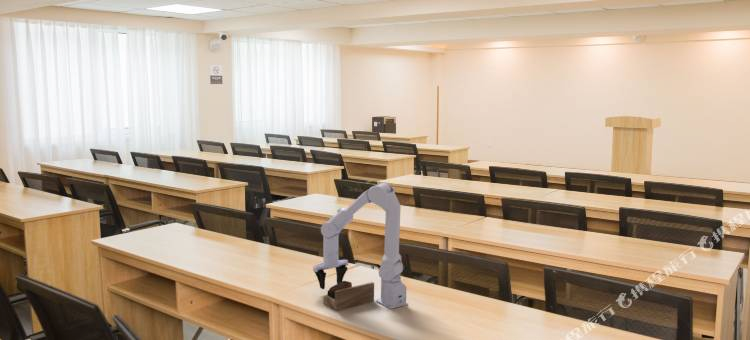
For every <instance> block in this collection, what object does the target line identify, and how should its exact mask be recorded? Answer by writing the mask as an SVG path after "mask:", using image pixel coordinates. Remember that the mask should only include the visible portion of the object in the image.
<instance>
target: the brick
mask: <svg viewBox="0 0 750 340" xmlns="http://www.w3.org/2000/svg"><path fill="white" fill-rule="evenodd" d="M349 287H353V285H352V282H351V281H347V280H342V282H340V283H338V284H337V283H336V284H334V285H333V286H331V287H329V289H328V290H327V294H326V295H328V296H330V297H331V298H333V299H335V291H336V290H341V289H345V288H349Z"/></svg>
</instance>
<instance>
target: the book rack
mask: <svg viewBox="0 0 750 340" xmlns="http://www.w3.org/2000/svg"><path fill="white" fill-rule="evenodd" d="M374 301H375V282H373V281H371V282H367V283H364V284H359V285H354V286H352V287H349V288H345V289H341V290H336V291H335V299H333V298H331V297H330V296H328V295H327V294H324V295H323V304H324V305H326V306H328V307H329V308H331V309H333V310H335V312H336V311H341V310H344V309H349V308H353V307H357V306H361V305H364V304H368V303H373V302H374Z"/></svg>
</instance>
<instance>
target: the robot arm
mask: <svg viewBox="0 0 750 340" xmlns="http://www.w3.org/2000/svg"><path fill="white" fill-rule="evenodd" d="M371 203H372V204H374V205H376V206H378V207H380V208H381V209H383V211H384V212H385V224H384V249H383V250H384V251H383V253H384V254H383V256H382V259H381V264H380V267H379V269H378V274H379V275H378V276H379V277H380V298H378V299H375V302H376V303H379V304H381V305H382V306H385V307H386V308H389V309H391V310H392V309H397V308H398V307H403V306H406V305H409V302H407V286H406V284H405V283H403V281H402V277H401V273H402V272H403V270H404V264H403V262H402V261H403V260H402V255H401V254H400V233H401V232H400V231H401V230H400V228H401V210H402V209H401V208H402V207H401V204H400V201H399V199H398V197H397V194H396V191H395V188H394V187H393V186H392V185H391V184H389V183H388V182H380V183H379V184H376V185H373V186H371V187H369V189H367V190H365V191H363V192H362V193H361V194H360V195H359V196H358V197H357V198H356V199H355V200H354V201H353V202H352V203H351V204H350V205H349V206H348V207H343V208H339V209H337V211H336V212H337V213H335V214H334V215H333V216H331V217H330V216H329V218H328V221H327V222H326V221H325V222H323V224H322V225H321V226H320V232H321V235H322V237H323V239H322V240H323V243H322V244H323V259H322V260H323V262H321V263H319V264H315V265H313V266H312V268H313V269H312V270H313V272H314V274H315V276H316V277H317V280H318V283H319V288H320V289H321V290H325V289H326V276H327V273H326V272H325V271H324V270H330V269H334V268H335V273H336V284H338V283H340V282H342V281H344V280H343V279H344V277H345V275H346V272H347V271H348V266H349V260H348V259H339V241H340V240H339V235H340V233H341V231H342V230H343V229H345V227H346V226H347V225H349V224H350V223H351V222H352V221H353V220H354V215H355V214H356V213H357V212H358V211H359V210H361V209H362V208H363V207H364V206H366V205H367V204H371Z"/></svg>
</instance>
